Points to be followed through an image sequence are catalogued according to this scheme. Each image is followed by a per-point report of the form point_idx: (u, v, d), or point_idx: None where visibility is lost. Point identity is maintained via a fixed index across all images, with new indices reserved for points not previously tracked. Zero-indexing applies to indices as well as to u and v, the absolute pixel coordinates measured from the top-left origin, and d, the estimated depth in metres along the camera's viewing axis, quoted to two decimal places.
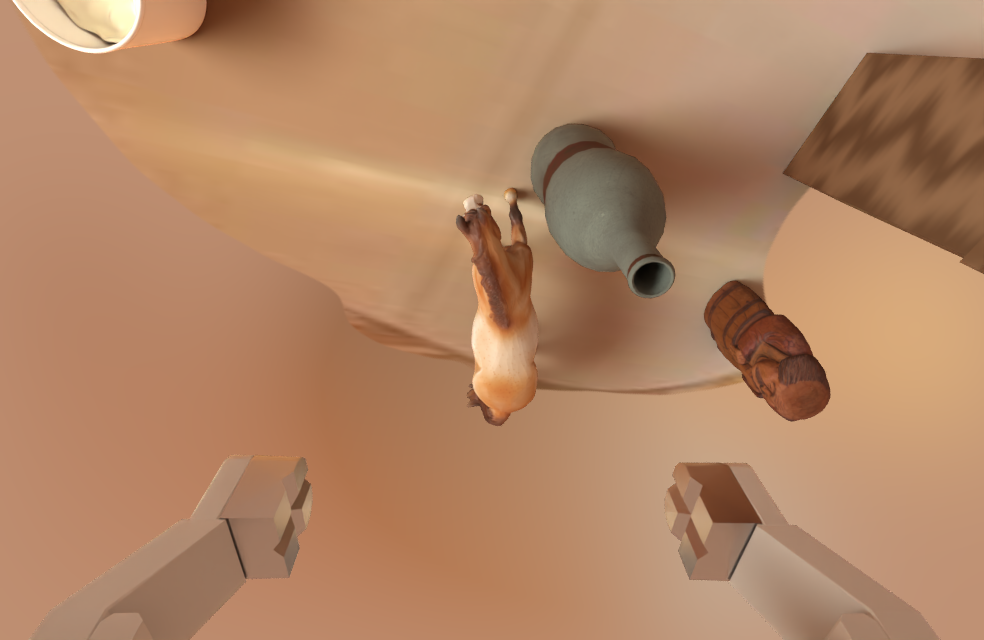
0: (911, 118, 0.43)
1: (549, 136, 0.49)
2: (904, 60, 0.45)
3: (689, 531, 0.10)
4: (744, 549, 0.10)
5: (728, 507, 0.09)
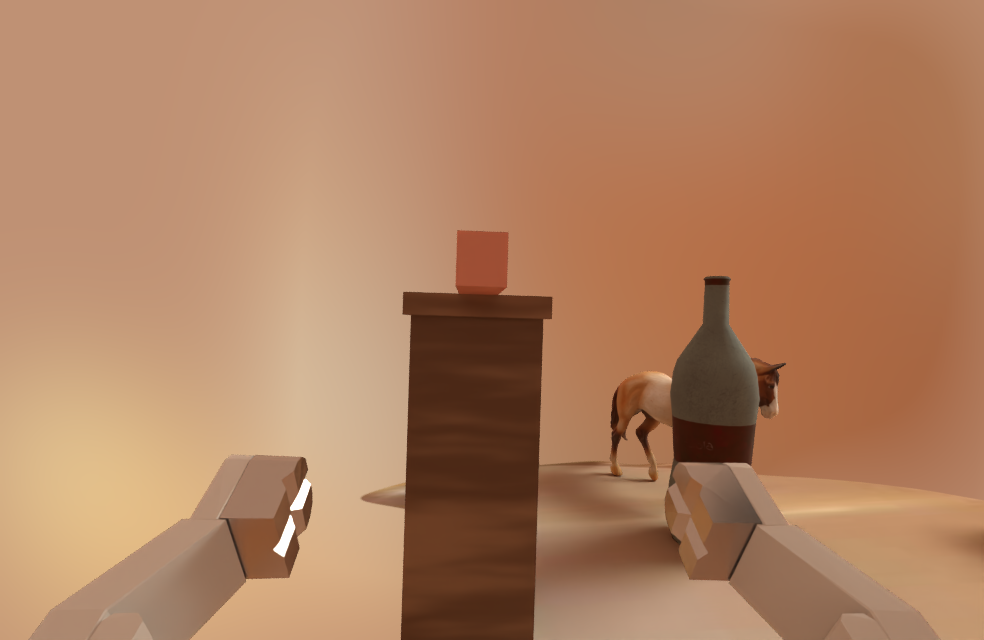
0: None
1: None
2: None
3: (689, 531, 0.10)
4: (744, 549, 0.10)
5: (728, 507, 0.09)
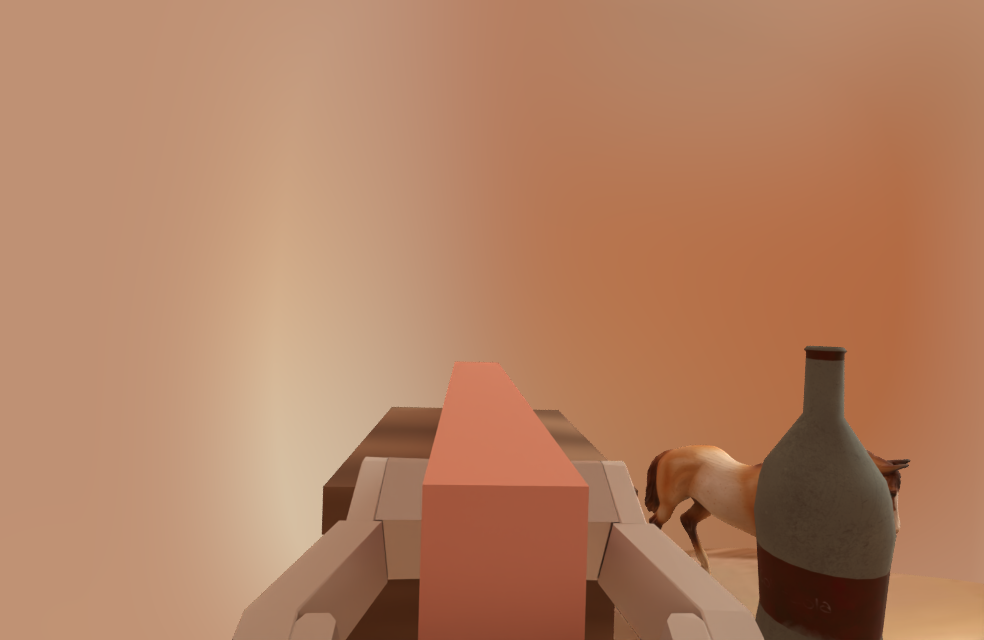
0: None
1: None
2: None
3: None
4: (606, 548, 0.09)
5: (589, 505, 0.09)
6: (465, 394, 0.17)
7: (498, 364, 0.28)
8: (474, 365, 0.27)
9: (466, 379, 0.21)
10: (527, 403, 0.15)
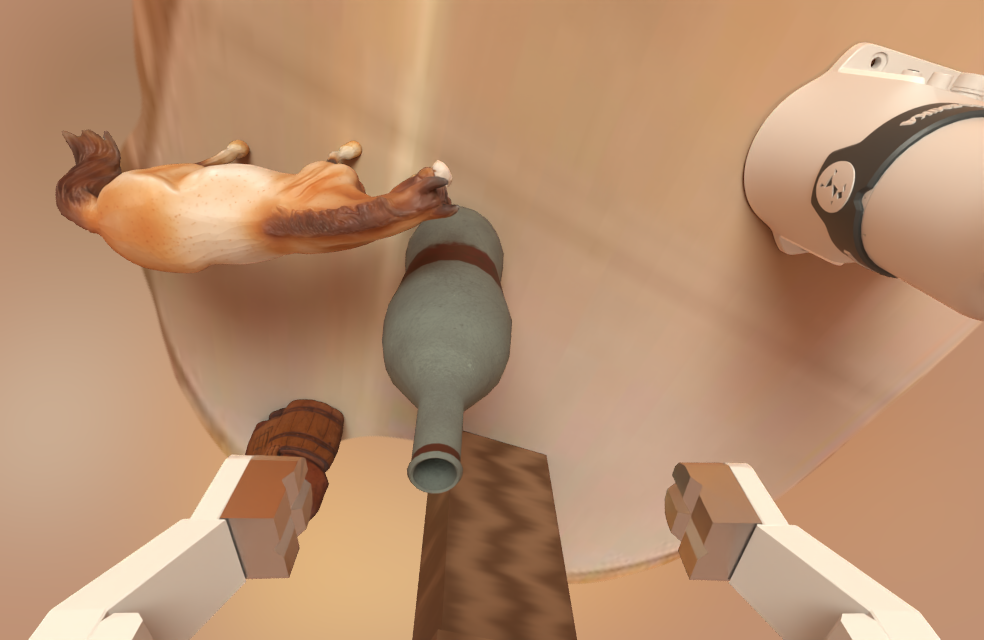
0: (517, 517, 0.54)
1: (492, 231, 0.45)
2: (548, 487, 0.60)
3: (689, 531, 0.10)
4: (744, 549, 0.10)
5: (728, 507, 0.09)
6: None
7: None
8: None
9: None
10: None
